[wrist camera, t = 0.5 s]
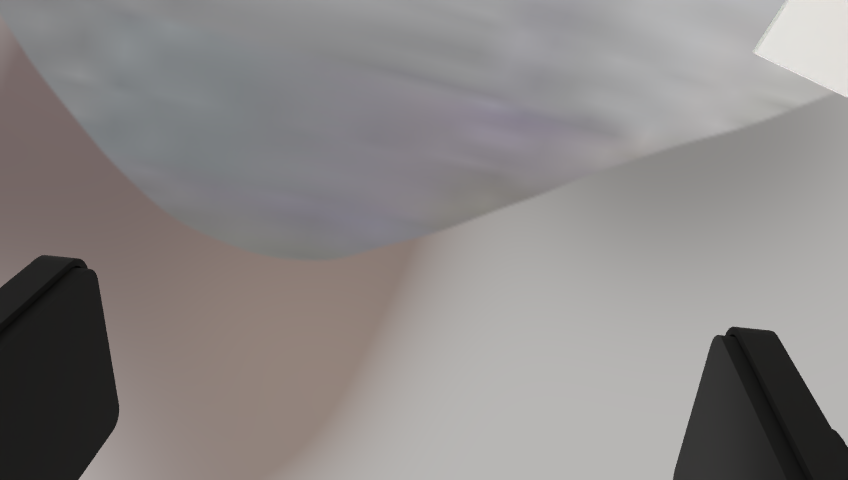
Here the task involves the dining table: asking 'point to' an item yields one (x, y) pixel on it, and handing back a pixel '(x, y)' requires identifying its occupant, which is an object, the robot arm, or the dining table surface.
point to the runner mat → (810, 41)
